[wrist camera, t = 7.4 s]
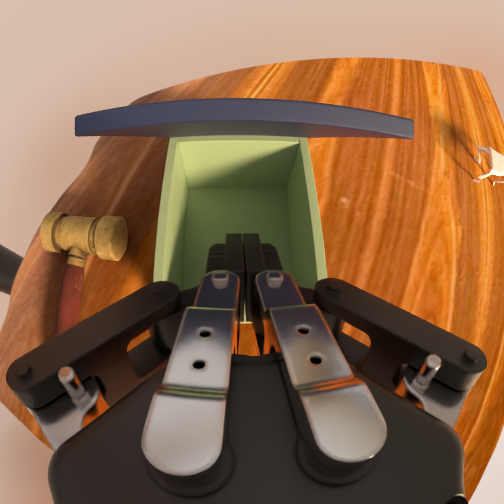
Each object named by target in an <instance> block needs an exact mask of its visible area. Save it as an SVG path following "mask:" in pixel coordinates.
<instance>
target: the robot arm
mask: <svg viewBox="0 0 504 504" xmlns="http://www.w3.org/2000/svg"><path fill="white" fill-rule="evenodd" d="M244 302H245V316H246V322H252V327H253V329H254V341H255V345H256V350H257V355H258V356H246V355H240V354H239V345H240V322H244ZM344 322H347V323H349V324H350V325H352V326H354V327H356V328H358V329H360V330H361V331H363V332H365V333H366V334H367V335H368V336H369V337H370V340H371V345H370V348H369V347H368V346H366V345H364V344H362V343H361V342H359V341H357V340H355V339H354V338H352V337H350V336H348V335H347V334H345V333H343V332H342V329H343V326H344ZM148 329H149V332H150V336H151V337H149V338H148V339H146V340H145V341H143V342H142V343H140V344H139V345H137V346H136V347H134V348H133V349H131V350H130V351H128V352H127V346H128V344H129V343H130V341H131V340H132V339H134V338H135V337H137V336H138V335H140V334H141V333H143V332H145V331H146V330H148ZM486 366H487V359H486V357H485V355H484V353H483V352H482V351H481V350H480V349H479V348H478V347H477V346H475V345H473V344H471V343H469V342H467V341H465V340H463V339H461V338H459V337H457V336H455V335H453V334H451V333H449V332H447V331H445V330H443V329H441V328H439V327H437V326H435V325H433V324H431V323H429V322H427V321H425V320H423V319H421V318H419V317H417V316H415V315H413V314H411V313H409V312H407V311H405V310H403V309H401V308H399V307H397V306H395V305H393V304H391V303H388V302H386V301H384V300H382V299H380V298H378V297H376V296H374V295H372V294H370V293H368V292H366V291H364V290H362V289H360V288H357V287H355V286H353V285H351V284H349V283H347V282H345V281H343V280H340V279H336V278H324V279H321V280H319V281H317V282H316V284H315V289H311V288H304V287H300V286H297V285H296V283H295V281H294V279H293V277H292V276H291V275H290V274H289V273H287V272H284V271H283V268H282V265H281V261H280V259H279V255H278V252H277V249H276V248H275V247H274V246H273V245H272V244H270V243H261V242H260V237H259V233H243V245H242V233H226V242H225V244H214V245H212V246H211V247H210V248H209V253H208V259H207V265H206V271H205V275H204V276H203V277H202V279H201V282H200V284H199V285H198V286H196V287H193V288H190V289H186V290H181V291H180V289H179V287H178V285H177V284H175V283H173V282H170V281H157V282H153V283H150V284H148V285H146V286H144V287H143V288H141V289H139V290H137V291H135V292H134V293H132V294H130V295H128V296H126V297H125V298H123V299H121V300H119V301H117V302H116V303H114V304H112V305H110V306H108V307H107V308H105V309H103V310H101V311H99V312H98V313H96V314H94V315H92V316H91V317H89V318H87V319H85V320H84V321H82V322H80V323H78V324H77V325H75V326H73V327H71V328H70V329H68V330H66V331H64V332H63V333H61V334H59V335H57V336H56V337H54V338H52V339H51V340H49V341H47V342H45V343H44V344H42V345H40V346H39V347H37V348H35V349H33V350H32V351H30V352H28V353H27V354H25V355H23V356H22V357H20V358H18V359H17V360H15V361H14V362H13V363H12V364H11V365H10V367H9V368H8V371H7V374H6V381H7V384H8V385H9V387H10V388H11V389H12V391H13V392H14V393H15V395H16V396H17V397H18V398H19V400H20V401H21V402H22V403H23V405H24V406H25V407H26V408H27V410H28V411H29V412H30V413H31V414H32V415H33V417H34V418H35V419H36V421H37V423H38V425H39V426H40V428H41V430H42V432H43V433H44V435H45V437H46V438H47V440H48V442H49V443H50V445H51V446H52V448H53V450H54V451H55V452H54V454H53V456H52V458H51V460H50V464H49V468H48V482H49V487H50V490H51V494H52V497H53V501H54V504H468V502H467V500H466V497H465V490H464V462H465V454H464V448H463V444H462V441H461V439H460V437H459V436H458V434H457V433H456V431H455V430H454V429H453V428H454V426H455V423H456V421H457V419H458V416H459V414H460V411H461V409H462V406H463V403H464V401H465V398H466V396H467V395H468V393H469V392H470V391H471V390H472V388H473V387H474V384H475V382H476V381H477V380H478V378H479V377H480V375H481V374H482V373H483V371H484V370H485V368H486Z"/></svg>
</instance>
